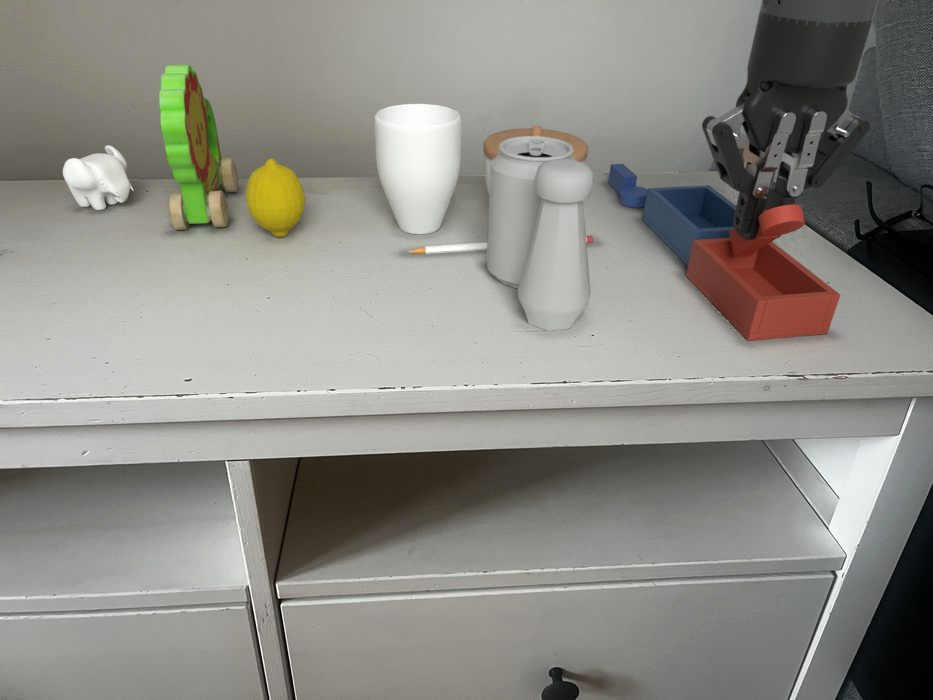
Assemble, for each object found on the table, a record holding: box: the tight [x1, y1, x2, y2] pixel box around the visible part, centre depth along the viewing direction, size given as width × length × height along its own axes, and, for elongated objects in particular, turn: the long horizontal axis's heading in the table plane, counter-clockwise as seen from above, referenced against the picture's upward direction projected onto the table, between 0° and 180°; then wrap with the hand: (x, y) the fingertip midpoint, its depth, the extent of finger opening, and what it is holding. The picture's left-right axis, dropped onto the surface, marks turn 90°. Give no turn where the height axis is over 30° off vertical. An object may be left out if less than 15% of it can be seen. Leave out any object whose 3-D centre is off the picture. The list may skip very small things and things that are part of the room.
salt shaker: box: [517, 159, 595, 332], centre depth 56 cm, size 6×6×13 cm
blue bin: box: [642, 184, 737, 267], centre depth 72 cm, size 7×11×4 cm, turn 10°
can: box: [486, 136, 576, 289], centre depth 63 cm, size 8×8×12 cm
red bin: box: [685, 238, 841, 341], centre depth 61 cm, size 7×11×4 cm, turn 10°
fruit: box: [245, 156, 306, 238], centre depth 70 cm, size 6×6×8 cm
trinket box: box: [482, 125, 589, 193], centre depth 76 cm, size 11×11×9 cm
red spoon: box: [729, 203, 806, 257], centre depth 59 cm, size 8×3×2 cm
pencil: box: [407, 235, 594, 255], centre depth 71 cm, size 1×19×1 cm, turn 101°
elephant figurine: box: [62, 145, 135, 211], centre depth 76 cm, size 7×8×6 cm
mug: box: [373, 103, 462, 235], centre depth 73 cm, size 12×8×11 cm
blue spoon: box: [607, 163, 648, 209], centre depth 83 cm, size 8×3×2 cm, turn 10°
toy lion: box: [158, 64, 239, 231], centre depth 73 cm, size 16×5×15 cm, turn 9°
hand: (757, 234), depth 60 cm, fingers closed on red spoon, 1 cm apart
